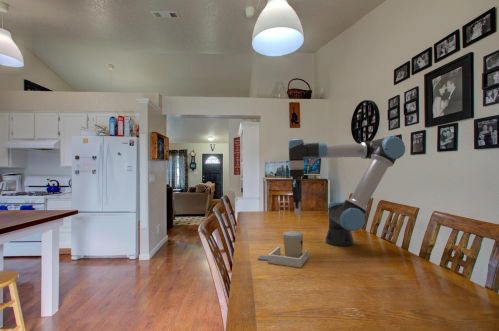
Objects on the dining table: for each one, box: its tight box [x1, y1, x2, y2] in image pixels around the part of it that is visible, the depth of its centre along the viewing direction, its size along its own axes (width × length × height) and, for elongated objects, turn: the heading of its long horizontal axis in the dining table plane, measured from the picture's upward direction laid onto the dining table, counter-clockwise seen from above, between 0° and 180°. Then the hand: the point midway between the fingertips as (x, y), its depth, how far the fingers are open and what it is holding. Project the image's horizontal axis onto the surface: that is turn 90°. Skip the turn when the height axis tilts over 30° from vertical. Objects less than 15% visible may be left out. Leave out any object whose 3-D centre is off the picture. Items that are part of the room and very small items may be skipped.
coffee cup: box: [282, 230, 304, 258], centre depth 128 cm, size 9×9×12 cm
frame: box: [267, 246, 309, 268], centre depth 127 cm, size 15×15×4 cm
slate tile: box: [257, 255, 268, 262], centre depth 129 cm, size 5×5×1 cm
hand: (297, 214), depth 142 cm, fingers closed
